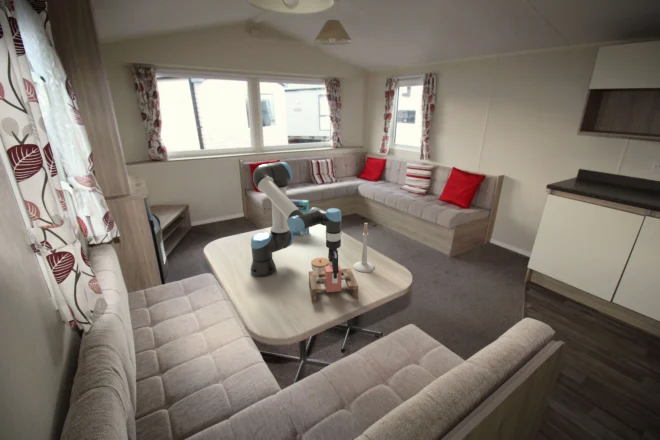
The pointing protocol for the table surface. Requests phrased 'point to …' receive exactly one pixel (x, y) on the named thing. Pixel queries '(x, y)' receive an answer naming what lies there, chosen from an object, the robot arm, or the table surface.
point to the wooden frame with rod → (316, 279)
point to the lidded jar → (319, 264)
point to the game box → (303, 207)
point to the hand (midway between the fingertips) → (333, 277)
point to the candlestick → (364, 255)
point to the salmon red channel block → (328, 283)
